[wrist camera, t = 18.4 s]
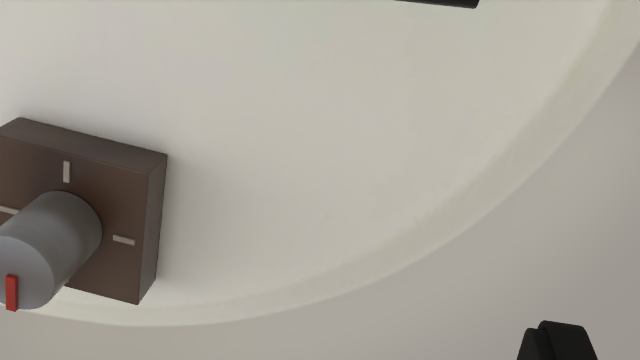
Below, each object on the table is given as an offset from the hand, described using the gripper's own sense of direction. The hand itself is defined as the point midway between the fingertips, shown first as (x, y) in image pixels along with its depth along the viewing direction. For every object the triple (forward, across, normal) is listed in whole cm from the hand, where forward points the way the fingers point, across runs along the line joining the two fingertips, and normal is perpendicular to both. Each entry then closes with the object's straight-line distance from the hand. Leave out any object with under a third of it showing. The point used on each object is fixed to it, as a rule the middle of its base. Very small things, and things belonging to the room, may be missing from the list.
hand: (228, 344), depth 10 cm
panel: (+25, +17, +13) cm, 33 cm away
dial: (+22, +17, +13) cm, 31 cm away
